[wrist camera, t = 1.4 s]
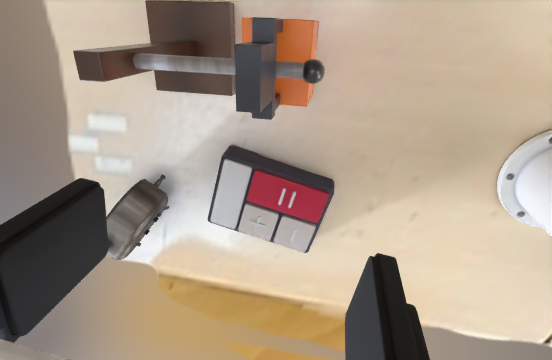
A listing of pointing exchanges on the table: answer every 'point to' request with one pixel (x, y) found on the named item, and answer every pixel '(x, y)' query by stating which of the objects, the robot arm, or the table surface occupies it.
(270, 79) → the orange square box
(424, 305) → the table surface
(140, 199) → the alarm clock
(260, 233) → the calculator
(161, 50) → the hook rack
